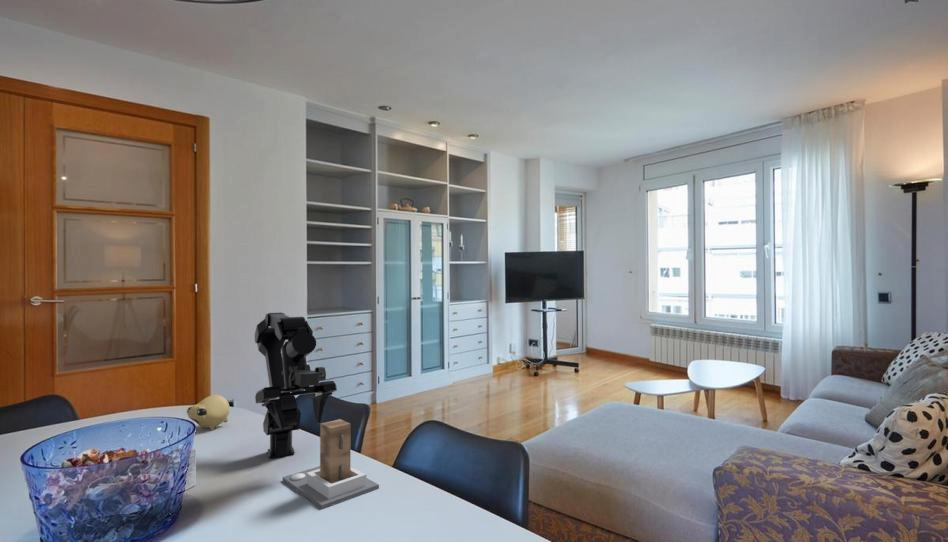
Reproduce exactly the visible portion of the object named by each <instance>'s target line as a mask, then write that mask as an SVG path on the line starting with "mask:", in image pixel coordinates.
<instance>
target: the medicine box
mask: <svg viewBox="0 0 948 542" xmlns="http://www.w3.org/2000/svg"><path fill="white" fill-rule="evenodd" d="M190 449H191V454H190V461H189V467H188V472H187V482H186V489H185V491H184V492H186V491H188V490H190V489H191V488H194V487H195V486H196V485H197V477H196V476H197V475H196V474H197V473H196V472H197V469H196V467H197V463H196V461H197V459H196V458H197V452H196V451H197V450H196V449H195V448H190Z"/></svg>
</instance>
